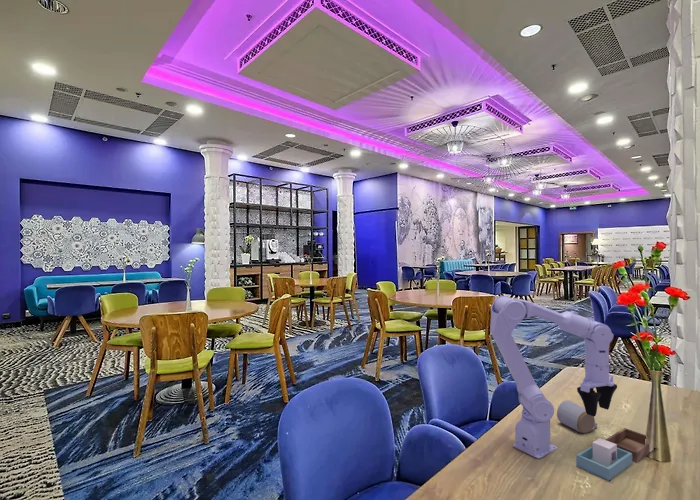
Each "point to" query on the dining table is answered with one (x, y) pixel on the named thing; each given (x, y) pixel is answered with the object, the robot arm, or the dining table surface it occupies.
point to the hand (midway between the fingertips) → (597, 411)
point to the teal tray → (607, 473)
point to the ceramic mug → (575, 417)
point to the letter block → (604, 452)
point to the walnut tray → (631, 443)
